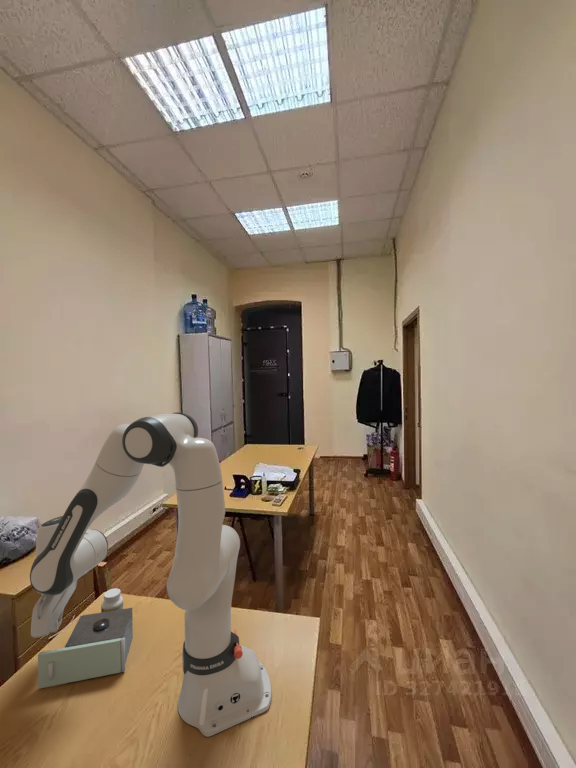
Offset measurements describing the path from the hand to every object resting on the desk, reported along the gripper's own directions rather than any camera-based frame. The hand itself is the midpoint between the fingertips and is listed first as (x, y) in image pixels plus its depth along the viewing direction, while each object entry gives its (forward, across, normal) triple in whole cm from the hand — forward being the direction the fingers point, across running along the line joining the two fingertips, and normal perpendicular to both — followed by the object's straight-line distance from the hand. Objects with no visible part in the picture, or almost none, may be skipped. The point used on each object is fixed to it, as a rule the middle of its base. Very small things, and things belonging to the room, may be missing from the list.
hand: (55, 628), depth 91 cm
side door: (+10, -7, -9) cm, 15 cm away
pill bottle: (+11, +13, -11) cm, 20 cm away
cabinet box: (+11, +1, -11) cm, 15 cm away
